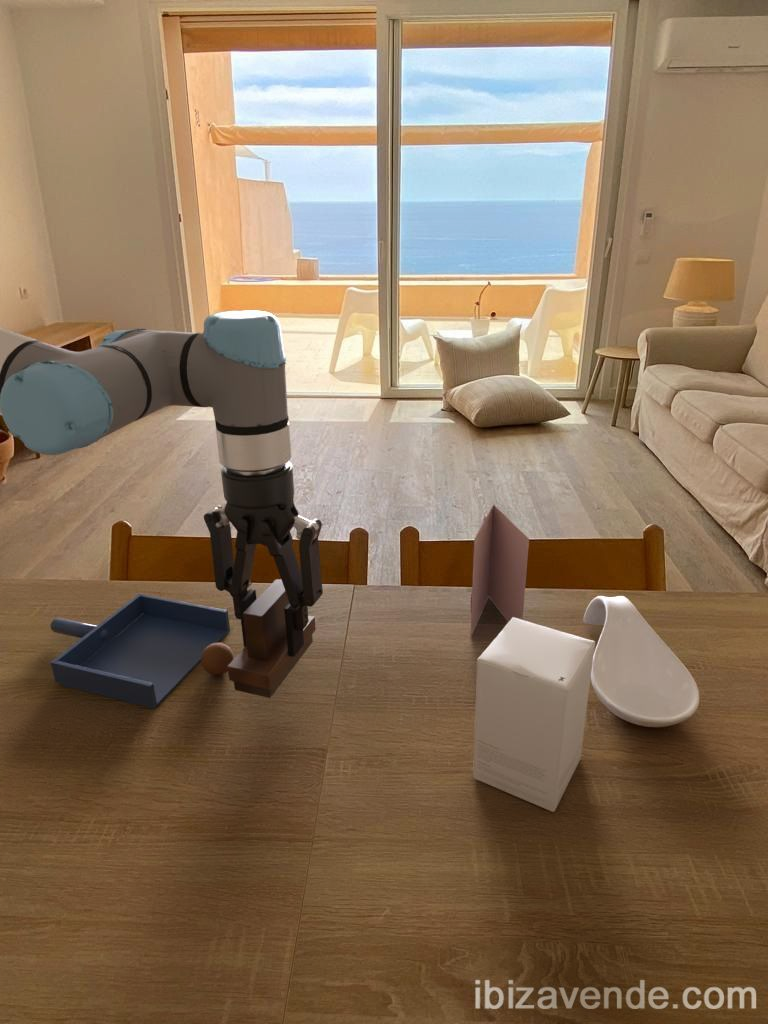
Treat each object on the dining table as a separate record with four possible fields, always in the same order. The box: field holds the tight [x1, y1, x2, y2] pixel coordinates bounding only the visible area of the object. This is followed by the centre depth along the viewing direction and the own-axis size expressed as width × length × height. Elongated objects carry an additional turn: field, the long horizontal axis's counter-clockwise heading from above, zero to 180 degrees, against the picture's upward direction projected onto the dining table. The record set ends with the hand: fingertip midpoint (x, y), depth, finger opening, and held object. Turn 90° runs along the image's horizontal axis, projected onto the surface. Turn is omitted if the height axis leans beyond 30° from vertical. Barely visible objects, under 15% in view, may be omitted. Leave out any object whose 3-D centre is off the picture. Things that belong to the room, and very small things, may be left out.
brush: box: [227, 578, 316, 699], centre depth 82 cm, size 5×12×10 cm, turn 161°
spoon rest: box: [582, 595, 700, 728], centre depth 85 cm, size 24×12×7 cm, turn 0°
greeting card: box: [469, 503, 530, 638], centre depth 95 cm, size 11×7×15 cm, turn 160°
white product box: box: [472, 617, 596, 813], centre depth 70 cm, size 9×9×15 cm
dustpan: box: [50, 593, 231, 710], centre depth 92 cm, size 23×17×3 cm
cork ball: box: [200, 642, 235, 676], centre depth 87 cm, size 4×4×4 cm
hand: (274, 645), depth 83 cm, fingers closed on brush, 5 cm apart
